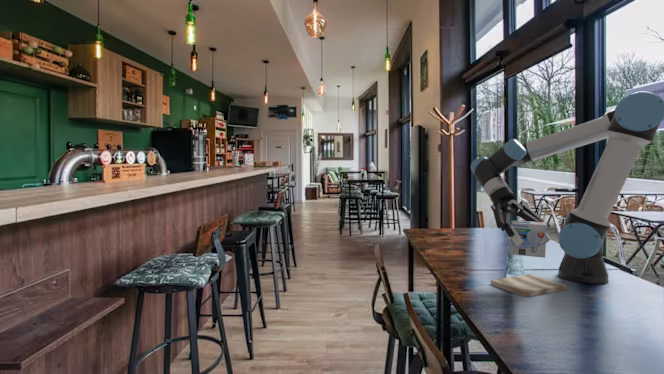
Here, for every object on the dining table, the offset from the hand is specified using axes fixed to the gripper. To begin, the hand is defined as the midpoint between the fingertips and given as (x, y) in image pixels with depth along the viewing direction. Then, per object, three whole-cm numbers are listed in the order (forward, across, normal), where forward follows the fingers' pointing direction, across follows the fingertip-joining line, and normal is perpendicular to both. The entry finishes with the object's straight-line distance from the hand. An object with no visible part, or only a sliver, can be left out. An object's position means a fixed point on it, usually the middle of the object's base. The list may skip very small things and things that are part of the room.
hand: (534, 242), depth 127 cm
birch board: (+9, 0, -12) cm, 16 cm away
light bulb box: (+1, 0, -5) cm, 5 cm away
